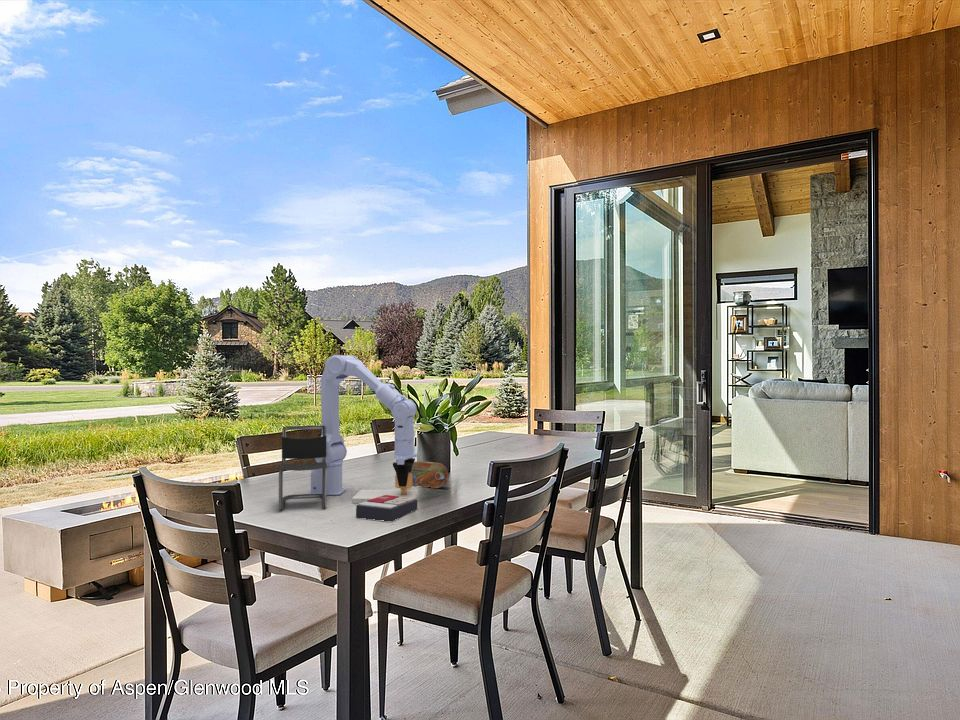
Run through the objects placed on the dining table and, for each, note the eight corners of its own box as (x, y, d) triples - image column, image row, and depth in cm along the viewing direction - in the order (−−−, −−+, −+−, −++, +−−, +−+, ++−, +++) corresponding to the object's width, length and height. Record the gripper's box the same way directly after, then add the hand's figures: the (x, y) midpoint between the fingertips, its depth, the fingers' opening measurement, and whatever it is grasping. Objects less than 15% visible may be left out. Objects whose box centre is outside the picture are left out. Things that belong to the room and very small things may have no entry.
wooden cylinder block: (394, 488, 180) (394, 475, 180) (396, 484, 185) (396, 471, 185) (410, 488, 180) (411, 475, 180) (413, 484, 185) (413, 471, 185)
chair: (326, 496, 187) (326, 425, 186) (326, 509, 170) (326, 432, 170) (282, 498, 183) (282, 426, 183) (278, 512, 167) (278, 433, 166)
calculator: (418, 497, 171) (391, 506, 158) (417, 512, 171) (390, 522, 157) (384, 493, 176) (355, 502, 162) (384, 508, 175) (355, 518, 162)
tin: (406, 485, 203) (406, 460, 203) (411, 483, 206) (412, 459, 206) (444, 490, 196) (445, 464, 196) (449, 488, 199) (449, 462, 199)
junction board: (351, 503, 177) (351, 486, 177) (360, 494, 189) (360, 478, 189) (412, 504, 177) (412, 487, 177) (417, 494, 189) (417, 478, 189)
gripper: (414, 443, 175) (414, 489, 176) (420, 436, 190) (419, 479, 190) (390, 443, 176) (389, 489, 176) (397, 436, 190) (397, 479, 190)
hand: (403, 484), depth 183 cm, fingers closed on wooden cylinder block, 5 cm apart
